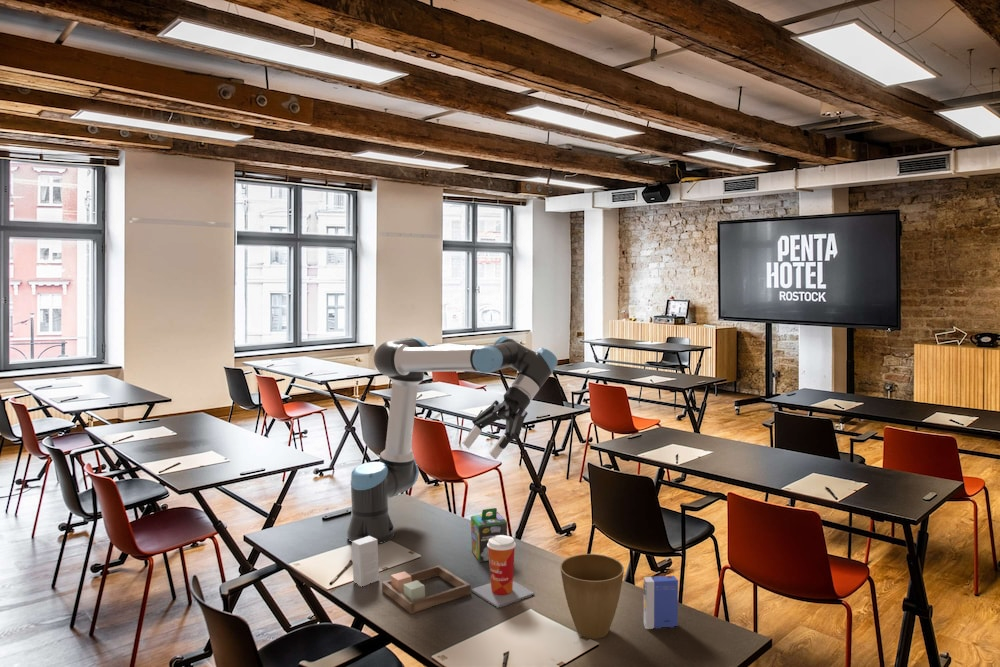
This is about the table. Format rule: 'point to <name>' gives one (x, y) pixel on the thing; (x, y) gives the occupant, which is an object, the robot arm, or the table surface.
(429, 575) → the walnut frame
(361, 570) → the skincare box
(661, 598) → the blue carton
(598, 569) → the plant pot
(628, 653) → the table surface
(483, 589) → the grey pad
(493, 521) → the chalk box
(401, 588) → the terracotta block
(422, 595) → the sage block
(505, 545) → the paper cup
